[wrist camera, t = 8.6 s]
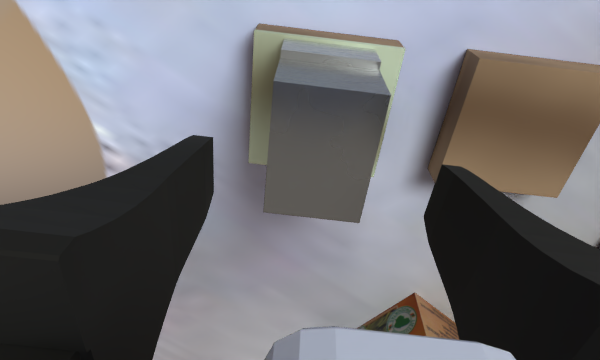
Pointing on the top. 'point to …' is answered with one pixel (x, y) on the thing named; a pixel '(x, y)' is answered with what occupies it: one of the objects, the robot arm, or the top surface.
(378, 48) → the stand
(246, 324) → the top surface
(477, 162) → the stand
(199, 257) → the top surface
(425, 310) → the orange food box
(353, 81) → the block
